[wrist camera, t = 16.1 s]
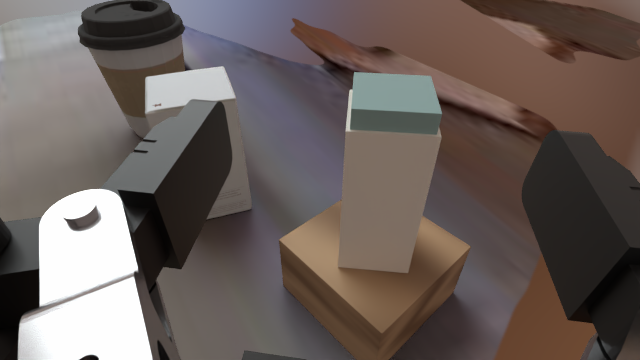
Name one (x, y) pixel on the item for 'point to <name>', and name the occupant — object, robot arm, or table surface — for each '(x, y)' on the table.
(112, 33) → the coffee cup
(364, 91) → the cream carton
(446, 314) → the table surface
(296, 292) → the oak box
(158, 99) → the supplement box
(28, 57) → the table surface
